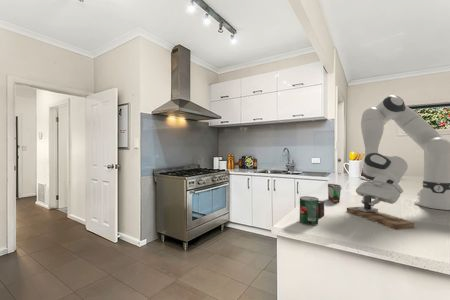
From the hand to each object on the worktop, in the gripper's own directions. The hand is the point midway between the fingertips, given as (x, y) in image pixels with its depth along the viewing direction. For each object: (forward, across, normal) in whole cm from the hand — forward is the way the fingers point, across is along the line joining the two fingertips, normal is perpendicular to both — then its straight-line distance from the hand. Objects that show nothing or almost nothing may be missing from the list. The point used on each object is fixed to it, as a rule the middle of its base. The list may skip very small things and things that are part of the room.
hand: (366, 204), depth 109 cm
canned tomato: (+28, +3, -20) cm, 35 cm away
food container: (0, -28, +8) cm, 29 cm away
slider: (+2, 0, +3) cm, 3 cm away
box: (+22, -5, -13) cm, 26 cm away
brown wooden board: (+4, +5, +4) cm, 8 cm away
